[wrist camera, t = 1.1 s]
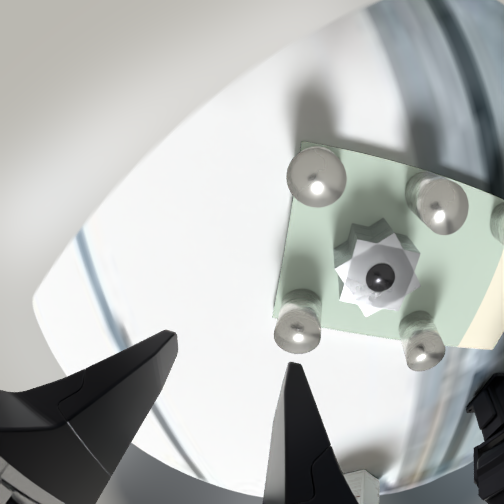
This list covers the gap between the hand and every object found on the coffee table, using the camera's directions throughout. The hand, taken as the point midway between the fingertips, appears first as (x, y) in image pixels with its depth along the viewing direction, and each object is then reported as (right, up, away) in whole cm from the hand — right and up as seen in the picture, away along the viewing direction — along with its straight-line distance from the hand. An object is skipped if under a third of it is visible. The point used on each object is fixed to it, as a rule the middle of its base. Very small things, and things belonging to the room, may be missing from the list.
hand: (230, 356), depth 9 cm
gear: (+9, +3, +9) cm, 13 cm away
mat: (+14, +2, +9) cm, 17 cm away
